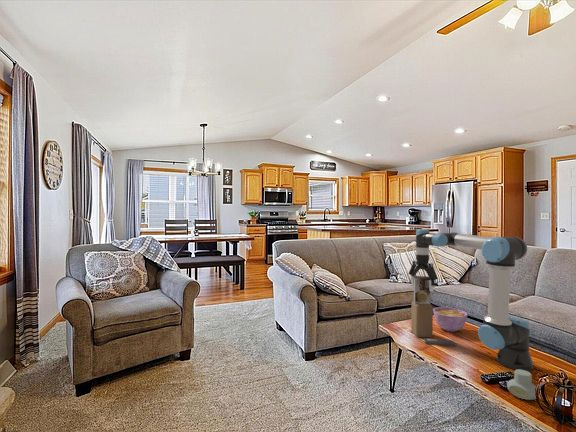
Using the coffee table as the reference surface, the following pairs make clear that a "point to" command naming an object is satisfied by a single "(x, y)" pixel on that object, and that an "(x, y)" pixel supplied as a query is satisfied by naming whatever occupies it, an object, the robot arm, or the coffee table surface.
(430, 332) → the wooden block
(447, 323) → the bowl of food
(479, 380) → the coffee table surface
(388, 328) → the coffee table surface
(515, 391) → the air freshener
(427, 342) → the tv remote
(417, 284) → the coffee box
